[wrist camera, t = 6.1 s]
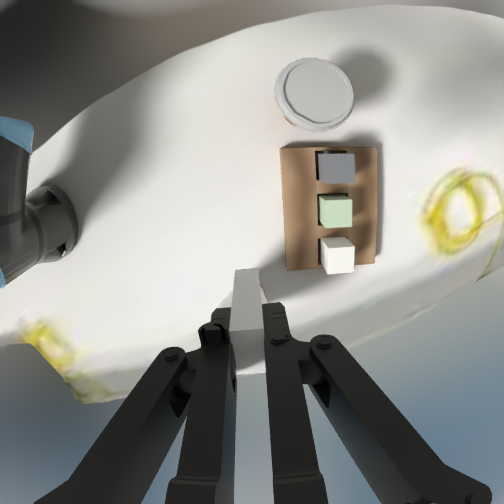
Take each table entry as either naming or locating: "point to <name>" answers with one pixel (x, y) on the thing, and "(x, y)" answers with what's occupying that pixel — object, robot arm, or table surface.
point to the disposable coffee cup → (314, 94)
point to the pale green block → (335, 211)
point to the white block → (337, 255)
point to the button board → (305, 206)
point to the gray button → (336, 168)
